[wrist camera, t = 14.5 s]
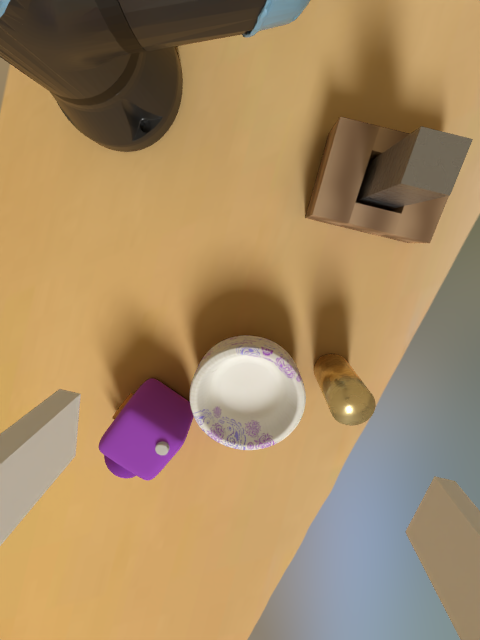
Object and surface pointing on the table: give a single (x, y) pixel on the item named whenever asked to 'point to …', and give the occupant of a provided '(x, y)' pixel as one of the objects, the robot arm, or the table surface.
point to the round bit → (343, 390)
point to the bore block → (345, 181)
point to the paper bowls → (247, 393)
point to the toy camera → (146, 431)
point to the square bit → (414, 170)
